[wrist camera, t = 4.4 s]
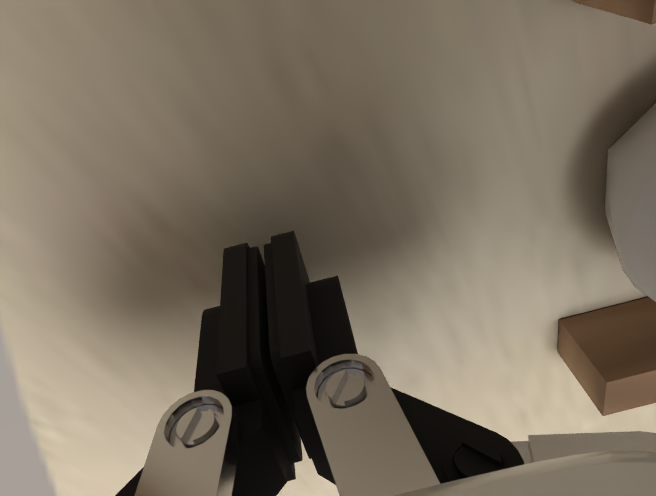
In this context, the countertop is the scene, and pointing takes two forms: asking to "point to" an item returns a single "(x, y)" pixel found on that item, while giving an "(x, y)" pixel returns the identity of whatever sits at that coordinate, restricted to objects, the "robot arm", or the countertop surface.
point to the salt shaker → (634, 201)
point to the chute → (614, 315)
